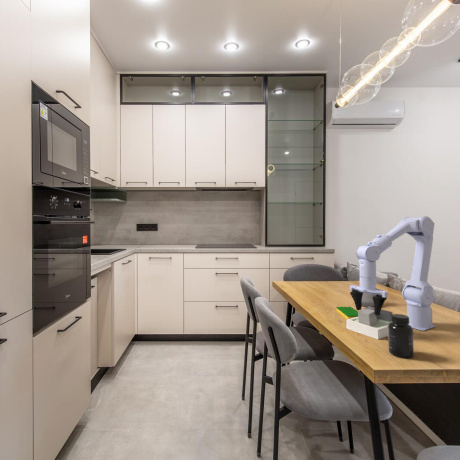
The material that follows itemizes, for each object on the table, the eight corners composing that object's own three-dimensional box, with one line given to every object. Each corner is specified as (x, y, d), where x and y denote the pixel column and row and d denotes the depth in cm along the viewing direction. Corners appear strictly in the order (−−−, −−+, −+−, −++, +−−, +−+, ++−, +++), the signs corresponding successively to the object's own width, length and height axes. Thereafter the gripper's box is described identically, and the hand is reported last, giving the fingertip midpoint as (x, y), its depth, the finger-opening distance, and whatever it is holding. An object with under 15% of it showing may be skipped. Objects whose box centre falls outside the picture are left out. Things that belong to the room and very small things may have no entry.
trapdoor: (369, 314, 117) (368, 306, 117) (394, 321, 108) (393, 312, 108) (352, 323, 111) (351, 314, 111) (377, 332, 103) (376, 322, 102)
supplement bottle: (404, 349, 92) (404, 312, 92) (418, 358, 86) (418, 319, 86) (383, 349, 92) (383, 312, 92) (396, 359, 85) (396, 319, 85)
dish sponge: (347, 321, 122) (347, 315, 122) (336, 311, 136) (336, 306, 136) (364, 321, 122) (364, 315, 122) (350, 311, 136) (350, 306, 136)
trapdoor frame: (368, 322, 119) (368, 313, 119) (400, 331, 108) (399, 322, 108) (346, 328, 112) (346, 319, 112) (378, 339, 101) (378, 329, 100)
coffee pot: (381, 309, 138) (381, 278, 138) (356, 307, 142) (356, 277, 142) (374, 298, 158) (374, 272, 158) (352, 297, 162) (352, 271, 162)
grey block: (366, 320, 111) (364, 308, 111) (377, 323, 107) (375, 310, 107) (359, 324, 109) (357, 311, 108) (370, 327, 105) (368, 314, 104)
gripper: (344, 275, 112) (344, 309, 112) (379, 280, 100) (380, 319, 100) (355, 273, 116) (355, 306, 116) (391, 279, 103) (391, 316, 103)
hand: (367, 312), depth 108 cm, fingers open, 7 cm apart
